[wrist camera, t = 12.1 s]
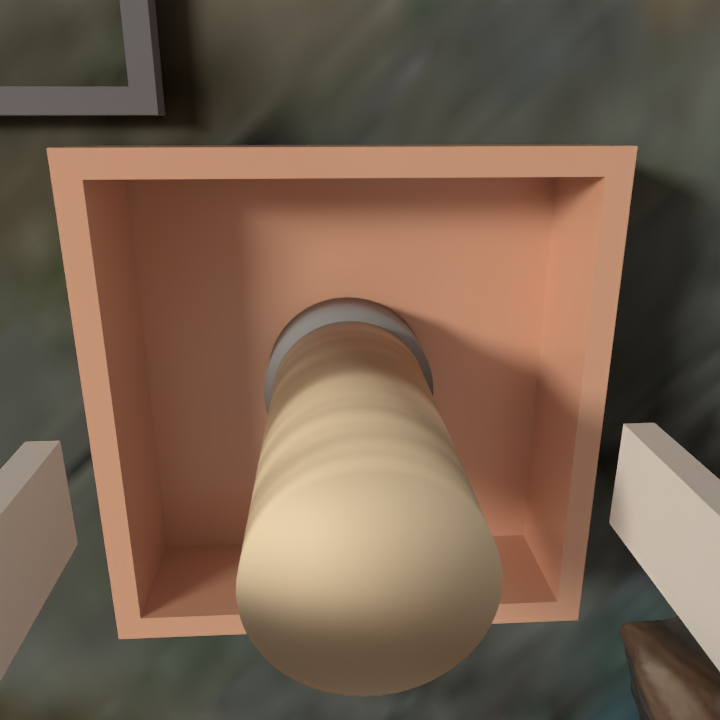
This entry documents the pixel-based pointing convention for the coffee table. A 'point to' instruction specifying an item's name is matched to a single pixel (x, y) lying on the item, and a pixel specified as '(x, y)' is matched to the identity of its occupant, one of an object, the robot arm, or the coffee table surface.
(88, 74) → the coffee table surface
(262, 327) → the tray
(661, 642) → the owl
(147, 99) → the gray square frame
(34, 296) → the coffee table surface
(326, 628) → the beige rounded cylinder
